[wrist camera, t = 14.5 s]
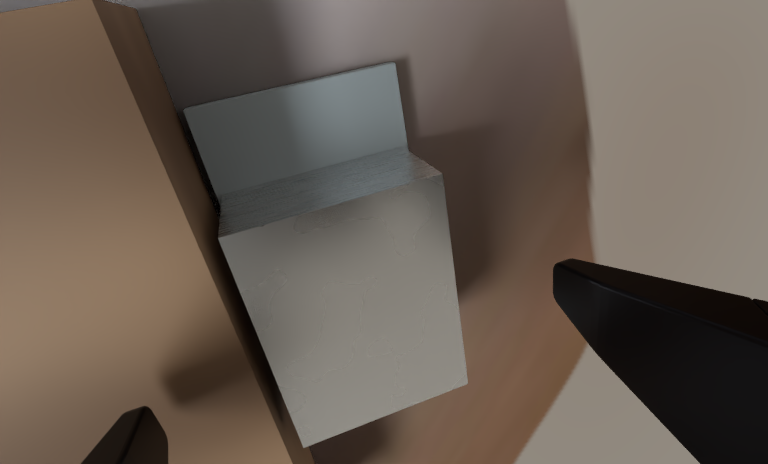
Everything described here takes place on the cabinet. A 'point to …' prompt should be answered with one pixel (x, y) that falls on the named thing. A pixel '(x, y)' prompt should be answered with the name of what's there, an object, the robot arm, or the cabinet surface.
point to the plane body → (115, 258)
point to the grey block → (349, 287)
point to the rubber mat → (298, 127)
